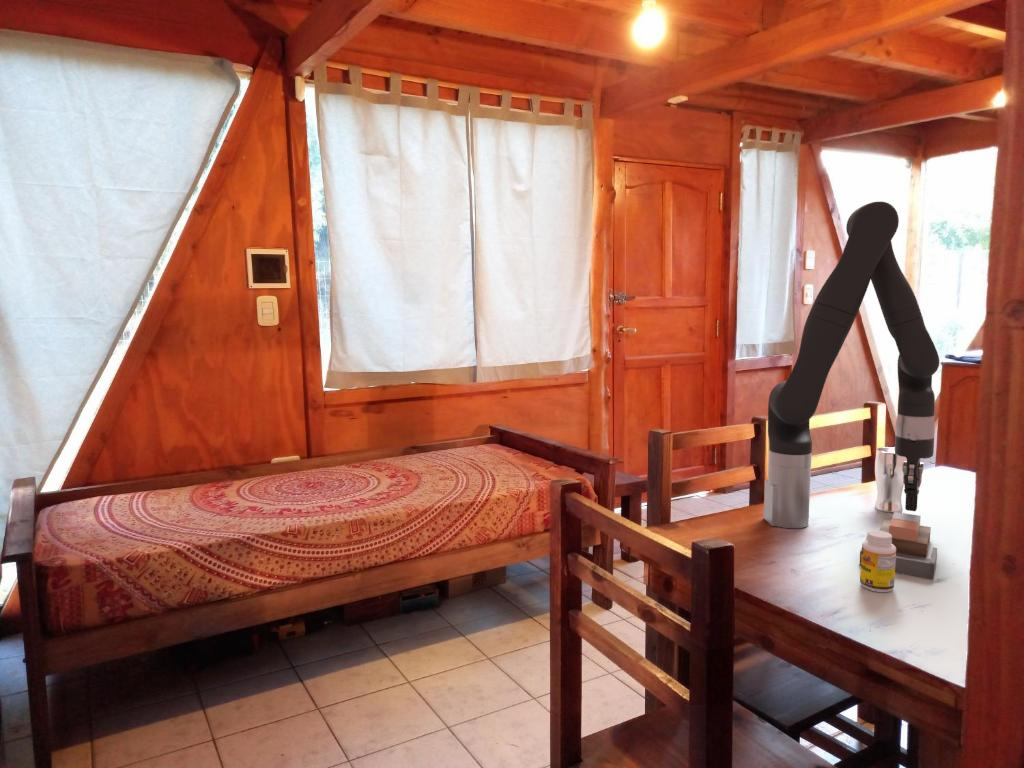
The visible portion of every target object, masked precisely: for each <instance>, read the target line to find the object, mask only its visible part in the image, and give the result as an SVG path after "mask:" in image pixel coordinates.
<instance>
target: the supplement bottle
mask: <svg viewBox="0 0 1024 768" xmlns="http://www.w3.org/2000/svg"><path fill="white" fill-rule="evenodd" d="M866 537H867V540H866V539H865V540H866V541H865V540H864V541H863V542H862V543H861V548H862V554H861V566H860V574H859V583H860V585H861V586H862V587H863V589H867V590H869V591H871V592H874V593H875V592H877V593H889V592H891V591H893V590H894V588H895V579H896V578H895V577H896V573H895V562H896V547H895V546H894V545H893V544H892V535H891V534H890V533H887V532H884V531H880V530H875V529H874V530H868V531H867V535H866Z"/></svg>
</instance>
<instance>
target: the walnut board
mask: <svg viewBox="0 0 1024 768" xmlns="http://www.w3.org/2000/svg"><path fill="white" fill-rule="evenodd" d="M882 521H883V522H882V523H881V526H880V529H879V531H884V532H887V533H889V525H890V522H891V520H885V519H883V520H882ZM930 542H931V526H927V525H920V528H919V532H918V537H917V541H909V540H903V539H897V538H892V544H893V545H894V546H895V547H896V553H901V554H907V555H913V556H919V557H925V558H928V557H927V556H928V551H929V547H930Z"/></svg>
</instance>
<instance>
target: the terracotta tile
mask: <svg viewBox="0 0 1024 768" xmlns="http://www.w3.org/2000/svg"><path fill="white" fill-rule="evenodd" d="M890 521H891V522H890V525H889V533H890V534H891V535H892V538H897V539H903V540H909V541H917V537H918V528H919V523H916V522H909V521H903V520H896V519H892V518H891V520H890Z"/></svg>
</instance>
